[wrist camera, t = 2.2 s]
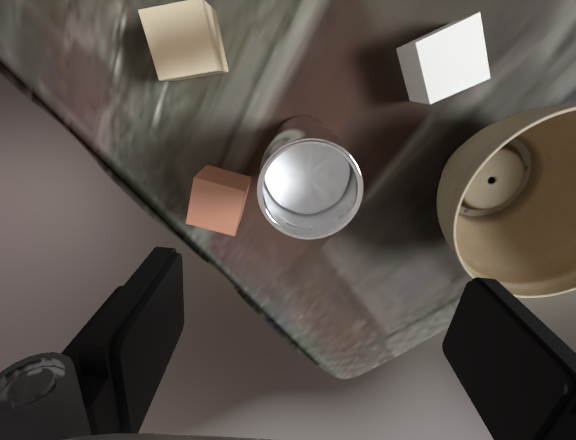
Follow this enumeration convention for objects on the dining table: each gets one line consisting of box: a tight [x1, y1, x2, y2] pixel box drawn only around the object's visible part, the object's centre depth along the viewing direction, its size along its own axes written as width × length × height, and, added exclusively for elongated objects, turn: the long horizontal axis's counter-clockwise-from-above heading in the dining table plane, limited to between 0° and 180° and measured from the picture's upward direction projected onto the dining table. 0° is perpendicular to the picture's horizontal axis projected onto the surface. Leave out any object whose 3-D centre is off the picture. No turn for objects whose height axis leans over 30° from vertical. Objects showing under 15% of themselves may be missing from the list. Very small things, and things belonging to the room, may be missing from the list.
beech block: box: [138, 0, 229, 81], centre depth 27 cm, size 5×5×5 cm
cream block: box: [396, 12, 490, 104], centre depth 27 cm, size 5×5×5 cm
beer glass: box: [257, 116, 363, 239], centre depth 26 cm, size 7×7×15 cm
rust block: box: [186, 165, 251, 236], centre depth 33 cm, size 5×5×5 cm
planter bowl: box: [437, 105, 576, 298], centre depth 29 cm, size 16×16×11 cm
